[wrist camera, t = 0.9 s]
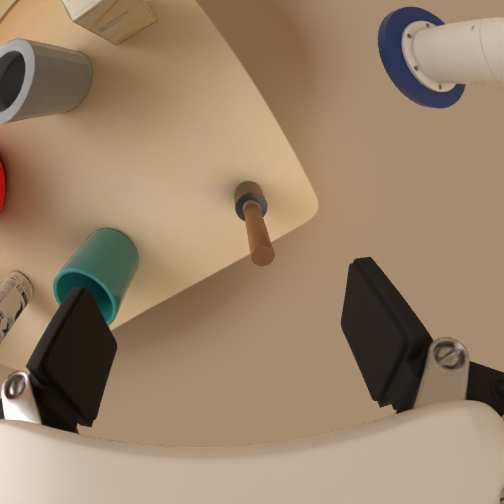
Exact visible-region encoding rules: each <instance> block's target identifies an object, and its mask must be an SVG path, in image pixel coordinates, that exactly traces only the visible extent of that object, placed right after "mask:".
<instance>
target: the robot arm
mask: <svg viewBox="0 0 504 504" xmlns="http://www.w3.org/2000/svg"><path fill="white" fill-rule="evenodd" d="M401 45H402V52H403V56H404V59H405V61H406V64H407V66H408V68H409V69H410V71H411V73H412V74H413V75H414V77H415V78H416V79H417V80H418V81H419V82H420V83H421V84H422V85H424V86H425V87H426V88H428V89H430V90H433V91H436V92H446V91H449V90H451V89H452V88H453V87H454V86H455V85H456V84H470V85H481V86H490V87H498V88H504V17H498V18H486V19H477V20H469V21H462V22H457V23H451V24H445V25H440V26H435V25H434V24H432V23H429V22H426V21H416V22H413V23H411V24H409V25H408V26H407V27H406V28H405V30H404V32H403V34H402V42H401ZM341 327H342V330H343V332H344V334H345V337H346V339H347V341H348V343H349V345H350V348H351V350H352V352H353V355H354V357H355V359H356V361H357V364H358V366H359V369H360V371H361V373H362V376H363V378H364V380H365V383H366V385H367V388H368V390H369V392H370V395H371V397H372V399H373V400H374V401H378V403H379V406H380V407H384V406H387V405H389V404H392V406H393V409H394V410H395V412H394V414H393V415H391V416H388V417H385V418H382V419H379V420H375V421H372V422H368V423H364V424H361V425H357V426H353V427H349V428H345V429H341V430H337V431H332V432H328V433H323V434H319V435H313V436H308V437H303V438H297V439H291V440H284V441H277V442H268V443H259V444H248V445H235V446H213V447H212V446H211V447H186V446H162V445H149V444H138V443H128V442H122V441H114V440H108V439H102V438H96V437H91V436H86V435H81V434H79V432H78V429H77V423H78V424H80V425H82V426H87V427H92V423H93V420H95V419H96V418H97V414H98V411H99V407H100V403H101V399H102V396H103V392H104V389H105V385H106V382H107V379H108V376H109V372H110V369H111V366H112V363H113V360H114V357H115V353H116V350H117V343H116V340H115V338H114V337H113V335H112V333H111V331H110V329H109V327H108V325H107V323H106V321H105V319H104V317H103V315H102V313H101V311H100V309H99V306H98V304H97V302H96V300H95V298H94V296H93V293H92V292H91V291H89V290H88V289H87V288H86V287H77V288H72V289H71V290H70V291H69V293H68V295H67V296H66V298H65V299H64V301H63V302H62V304H61V305H60V307H59V309H58V310H57V312H56V313H55V315H54V317H53V318H52V320H51V322H50V323H49V325H48V327H47V328H46V330H45V332H44V334H43V335H42V337H41V339H40V341H39V342H38V344H37V346H36V348H35V350H34V352H33V353H32V355H31V357H30V359H29V361H28V363H27V365H26V367H27V368H28V370H29V371H30V375H28V374H27V373H26V372H24V371H16V372H13V373H12V374H10V375H9V376H8V377H7V378H6V380H5V381H4V383H3V386H2V398H1V399H0V504H504V372H501V371H498V370H495V369H492V368H489V367H486V366H483V365H480V364H477V363H474V362H471V361H469V353H468V351H467V349H466V348H465V346H464V345H463V344H462V343H461V342H459V341H458V340H456V339H453V338H450V337H441V338H438V339H436V340H434V341H433V339H432V338H431V336H430V334H429V333H428V332H427V330H426V328H425V327H424V325H423V324H422V323H421V321H420V320H419V319H418V317H417V316H416V314H415V313H414V311H412V309H411V308H410V306H409V305H408V303H407V302H406V301H405V299H404V298H403V297H402V295H401V294H400V293H399V292H398V290H397V289H396V288H395V286H394V285H393V284H392V283H391V281H390V280H389V279H388V277H387V276H386V275H385V274H384V272H383V271H382V270H381V269H380V268H379V266H378V265H377V264H376V263H375V262H374V260H373V259H372V258H371V257H365V258H358V259H355V260H354V262H353V263H352V264H350V265H349V270H348V278H347V286H346V292H345V299H344V306H343V312H342V318H341Z"/></svg>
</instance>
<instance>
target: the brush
mask: <svg viewBox="0 0 504 504" xmlns="http://www.w3.org/2000/svg"><path fill="white" fill-rule="evenodd" d="M234 197H235V209H236V213H237V215H238V217H239V218H240V219H242V220H243V221H246V228H247V234H248V240H249V246H250V253H251V258H252V261H253V262H254V263H255V264H256V265H258V266H266V265H268V264H270V263H271V262H272V261H273V259H274V251H273V248H272V245H271V241H270V238H269V235H268V232H267V229H266V225H265V222H264V219H263V217H264V215H265V214H266V212H267V202H266V200H265V197H264V195H263V192H262V190H261V188H260V187H259V185H257V184H256V183H254V182H243V183H241V184H240V185H239V186H238V187H237V188H236V190H235V193H234Z"/></svg>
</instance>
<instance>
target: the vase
mask: <svg viewBox="0 0 504 504" xmlns="http://www.w3.org/2000/svg"><path fill="white" fill-rule="evenodd" d="M4 197H5V174H4V170H3V166H2V164H1V162H0V212H1V209H2V206H3V202H4Z"/></svg>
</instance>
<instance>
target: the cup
mask: <svg viewBox="0 0 504 504" xmlns="http://www.w3.org/2000/svg"><path fill="white" fill-rule="evenodd" d="M137 268H138V254H137V251H136V248H135V246H134V245H133V243H132V242H131V241H130V240H129V238H127V237H126V236H125V235H124V234H122V233H120V232H118V231H116V230H113V229H101V230H98V231H95V232H94V233H92V234H91V235H90V236H89V237H88V238H87V239H86V241H85V242H84V243H83V244H82V245H81V246H80V247H79V249H78V250H77V251H76V252H75V253H74V254H73V256H72V257H71V258H70V259H69V260H68V262H67V263H66V264H65V265H64V266H63V268H62V269H61V270H60V271H59V273H58V274H57V275H56V277H55V279H54V284H53V290H54V295H55V298H56V300H57V302H58V304H59V306H60V305H61V304H62V302H63V301H64V299H65V298H66V296H67V295H68V293H69V291H70V290H71V289H72V288H77V287H86V288H87V289H88V290H89V291H91V292H92V293H93V296H94V298H95V300H96V302H97V304H98V306H99V309H100V311H101V313H102V315H103V317H104V319H105V321H106V323H107V325H110V324H111V323H112V322H113V321H114V319H115V318H116V315H117V313H118V311H119V308H120V306H121V304H122V301H123V299H124V297H125V295H126V292H127V290H128V288H129V286H130V284H131V281H132V279H133V277H134V275H135V273H136V271H137Z"/></svg>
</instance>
